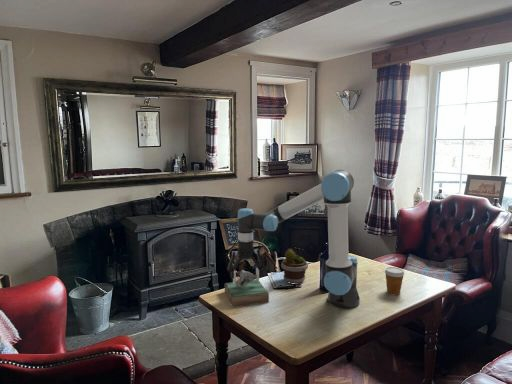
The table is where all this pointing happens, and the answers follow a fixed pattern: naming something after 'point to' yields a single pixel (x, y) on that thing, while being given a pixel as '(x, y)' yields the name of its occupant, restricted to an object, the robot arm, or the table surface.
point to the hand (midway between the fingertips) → (246, 282)
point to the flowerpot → (294, 268)
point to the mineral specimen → (245, 278)
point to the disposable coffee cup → (394, 279)
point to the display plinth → (246, 294)
